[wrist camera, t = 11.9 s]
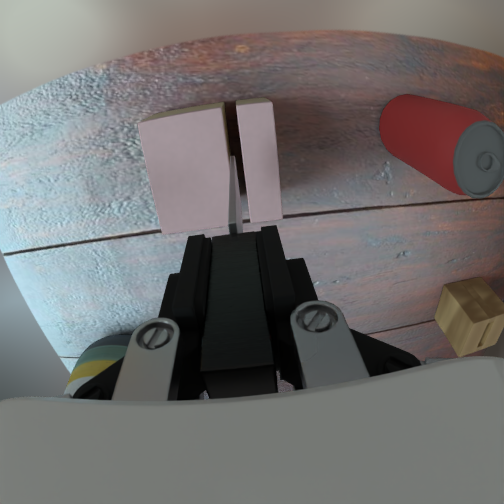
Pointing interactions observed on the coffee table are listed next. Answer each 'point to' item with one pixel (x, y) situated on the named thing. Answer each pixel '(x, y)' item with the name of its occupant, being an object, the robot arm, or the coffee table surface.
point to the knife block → (470, 315)
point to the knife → (236, 313)
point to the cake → (188, 166)
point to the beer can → (445, 143)
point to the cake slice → (260, 158)
